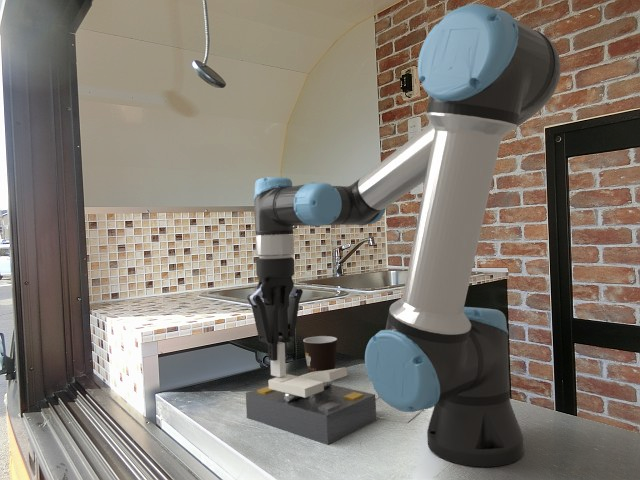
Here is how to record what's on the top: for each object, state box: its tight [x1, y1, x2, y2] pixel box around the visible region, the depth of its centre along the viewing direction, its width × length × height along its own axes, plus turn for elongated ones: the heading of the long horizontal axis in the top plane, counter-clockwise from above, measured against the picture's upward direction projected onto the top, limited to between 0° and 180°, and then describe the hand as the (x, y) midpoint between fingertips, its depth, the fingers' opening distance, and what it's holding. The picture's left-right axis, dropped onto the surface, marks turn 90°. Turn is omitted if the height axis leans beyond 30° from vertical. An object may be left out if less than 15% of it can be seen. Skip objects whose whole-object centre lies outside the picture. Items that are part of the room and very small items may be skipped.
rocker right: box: [297, 367, 348, 382], centre depth 100 cm, size 10×5×2 cm, turn 47°
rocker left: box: [268, 373, 324, 398], centre depth 95 cm, size 10×5×2 cm, turn 47°
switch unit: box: [245, 381, 377, 446], centre depth 98 cm, size 22×14×6 cm, turn 47°
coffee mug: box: [302, 335, 338, 373], centre depth 127 cm, size 12×9×10 cm
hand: (278, 375), depth 98 cm, fingers closed
